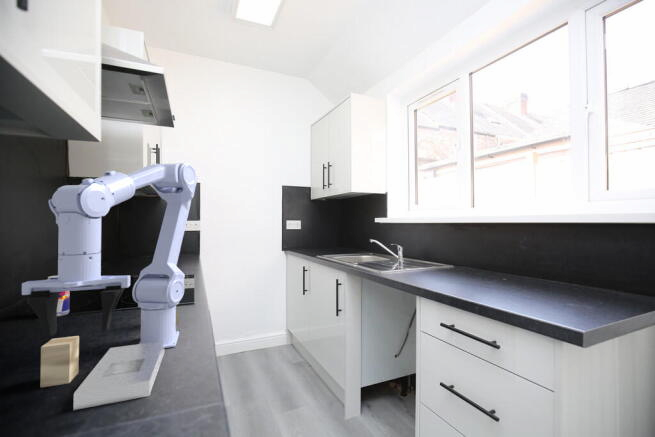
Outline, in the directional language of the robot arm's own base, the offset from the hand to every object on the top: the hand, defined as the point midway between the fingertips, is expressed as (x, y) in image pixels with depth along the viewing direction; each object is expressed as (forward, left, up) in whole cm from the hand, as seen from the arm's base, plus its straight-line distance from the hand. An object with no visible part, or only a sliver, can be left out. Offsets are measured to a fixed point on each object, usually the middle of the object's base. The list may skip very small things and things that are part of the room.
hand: (79, 332), depth 51 cm
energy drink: (-55, -23, -10) cm, 60 cm away
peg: (-5, -4, -10) cm, 11 cm away
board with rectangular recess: (-2, +7, -10) cm, 12 cm away
